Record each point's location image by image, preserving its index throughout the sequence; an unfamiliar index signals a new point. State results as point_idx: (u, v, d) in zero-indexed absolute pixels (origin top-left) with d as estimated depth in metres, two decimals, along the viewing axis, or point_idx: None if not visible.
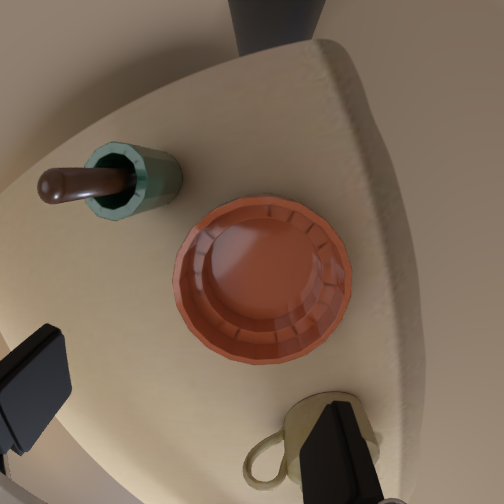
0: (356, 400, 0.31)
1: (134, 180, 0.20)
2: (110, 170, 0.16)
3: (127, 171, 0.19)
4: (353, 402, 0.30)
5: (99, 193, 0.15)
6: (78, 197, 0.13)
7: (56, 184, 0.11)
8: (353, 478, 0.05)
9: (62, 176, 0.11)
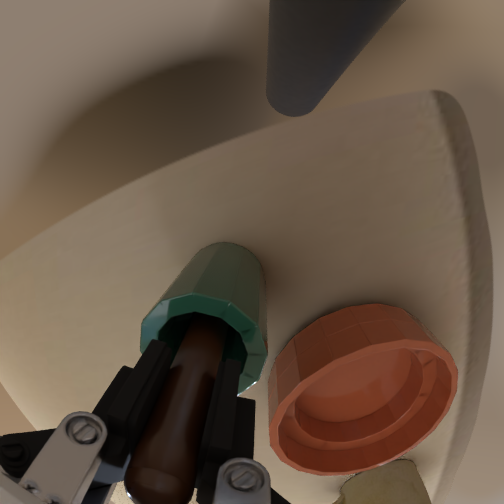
0: (412, 464, 0.25)
1: (226, 335, 0.13)
2: (207, 358, 0.10)
3: (218, 328, 0.12)
4: (410, 468, 0.24)
5: None
6: None
7: None
8: (210, 426, 0.06)
9: (183, 486, 0.05)
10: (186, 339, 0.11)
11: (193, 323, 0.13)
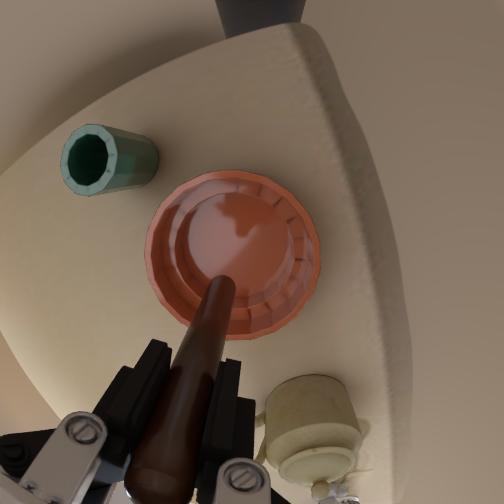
0: (339, 384, 0.32)
1: None
2: (207, 359, 0.10)
3: (218, 329, 0.12)
4: (335, 386, 0.31)
5: None
6: None
7: None
8: (211, 426, 0.06)
9: (183, 487, 0.05)
10: (186, 340, 0.11)
11: (193, 324, 0.13)
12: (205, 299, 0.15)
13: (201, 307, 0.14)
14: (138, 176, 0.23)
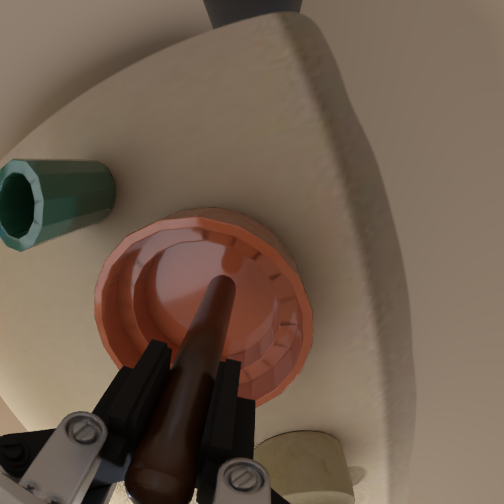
0: (332, 440, 0.26)
1: (226, 335, 0.13)
2: (207, 359, 0.10)
3: (218, 329, 0.12)
4: (327, 443, 0.25)
5: None
6: None
7: None
8: (210, 426, 0.06)
9: (183, 487, 0.05)
10: (186, 340, 0.11)
11: (193, 324, 0.13)
12: (205, 299, 0.15)
13: (201, 307, 0.14)
14: (84, 218, 0.18)
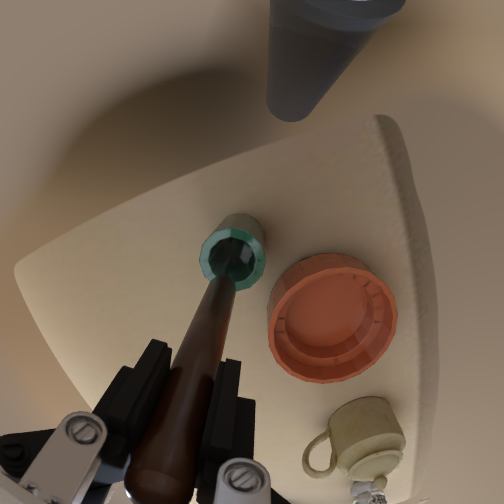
0: (386, 402, 0.38)
1: None
2: (207, 360, 0.10)
3: (218, 329, 0.12)
4: (384, 404, 0.37)
5: None
6: None
7: None
8: (211, 426, 0.06)
9: (182, 488, 0.05)
10: (186, 340, 0.11)
11: (193, 324, 0.13)
12: (205, 300, 0.15)
13: (201, 308, 0.14)
14: None
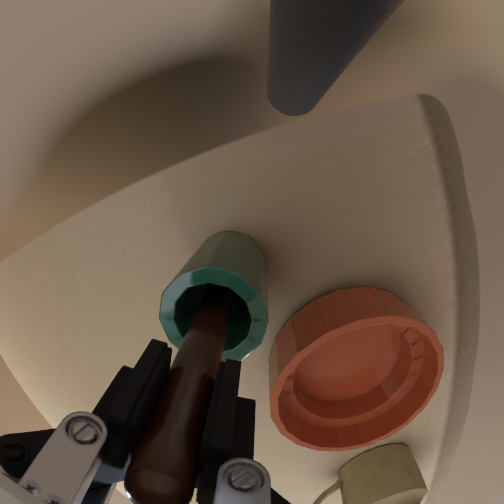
0: (407, 449, 0.28)
1: None
2: (207, 360, 0.10)
3: (218, 329, 0.12)
4: (405, 452, 0.27)
5: None
6: None
7: None
8: (210, 426, 0.06)
9: (182, 488, 0.05)
10: (186, 341, 0.11)
11: (193, 324, 0.13)
12: (205, 300, 0.15)
13: (201, 308, 0.14)
14: None
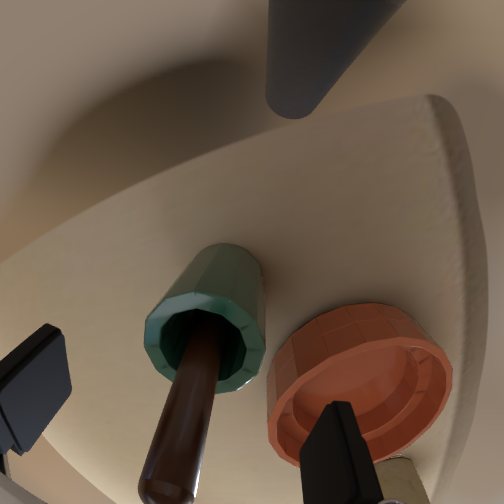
0: (410, 463, 0.26)
1: None
2: (206, 375, 0.11)
3: (216, 341, 0.13)
4: (408, 466, 0.25)
5: None
6: None
7: None
8: (353, 478, 0.05)
9: (186, 494, 0.06)
10: (186, 354, 0.12)
11: (193, 336, 0.13)
12: None
13: (200, 317, 0.15)
14: None
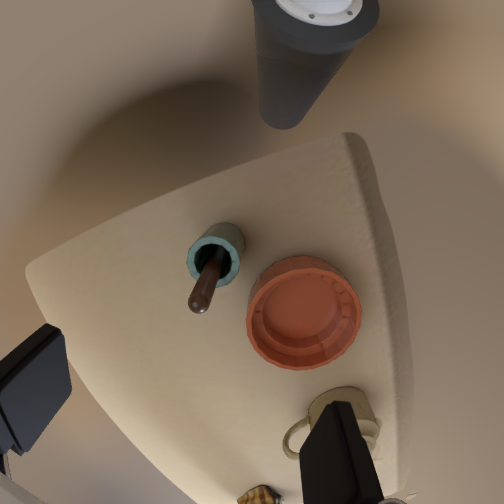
0: (361, 393, 0.43)
1: (222, 265, 0.32)
2: (215, 270, 0.28)
3: (219, 261, 0.31)
4: (359, 394, 0.42)
5: None
6: None
7: (205, 305, 0.23)
8: (353, 478, 0.05)
9: (206, 299, 0.23)
10: (206, 264, 0.30)
11: (208, 260, 0.31)
12: (213, 251, 0.33)
13: (212, 254, 0.32)
14: None
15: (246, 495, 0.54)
